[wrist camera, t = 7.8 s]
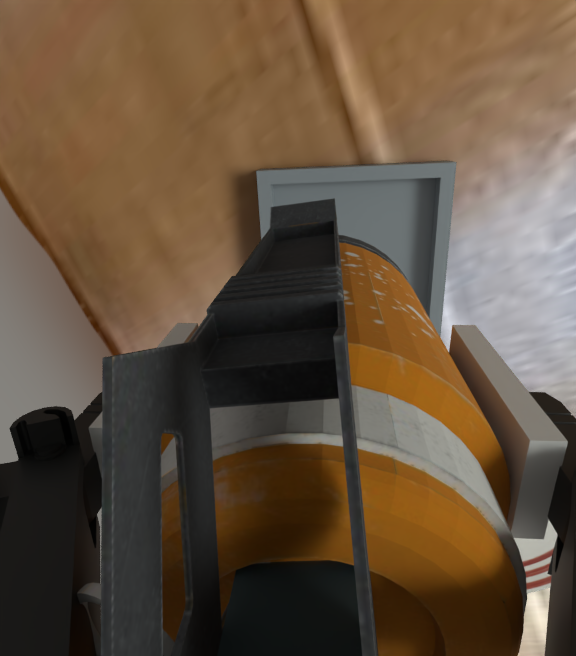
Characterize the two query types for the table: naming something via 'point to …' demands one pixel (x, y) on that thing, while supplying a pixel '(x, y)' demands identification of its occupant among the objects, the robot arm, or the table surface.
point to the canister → (304, 473)
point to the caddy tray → (380, 213)
